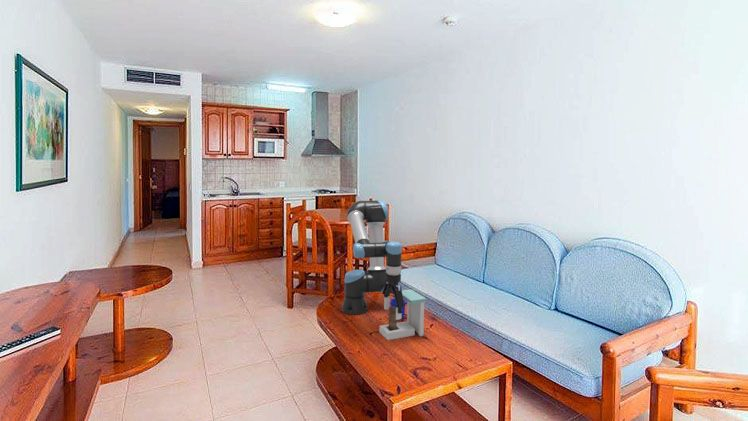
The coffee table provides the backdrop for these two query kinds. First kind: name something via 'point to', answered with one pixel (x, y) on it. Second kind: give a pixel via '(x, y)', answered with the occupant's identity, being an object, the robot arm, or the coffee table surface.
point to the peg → (392, 318)
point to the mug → (393, 304)
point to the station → (408, 318)
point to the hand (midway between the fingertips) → (392, 314)
